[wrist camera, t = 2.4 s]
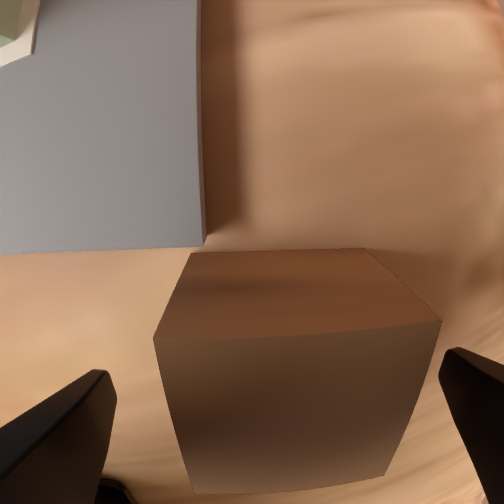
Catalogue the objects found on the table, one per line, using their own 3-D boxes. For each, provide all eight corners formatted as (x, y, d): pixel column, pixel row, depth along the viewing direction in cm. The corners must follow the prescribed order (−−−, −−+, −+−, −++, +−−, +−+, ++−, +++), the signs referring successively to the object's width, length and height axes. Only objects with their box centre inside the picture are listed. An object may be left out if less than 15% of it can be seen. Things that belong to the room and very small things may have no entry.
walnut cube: (345, 379, 11) (383, 475, 6) (206, 386, 11) (194, 493, 6) (362, 246, 9) (442, 319, 5) (191, 252, 9) (152, 338, 5)
